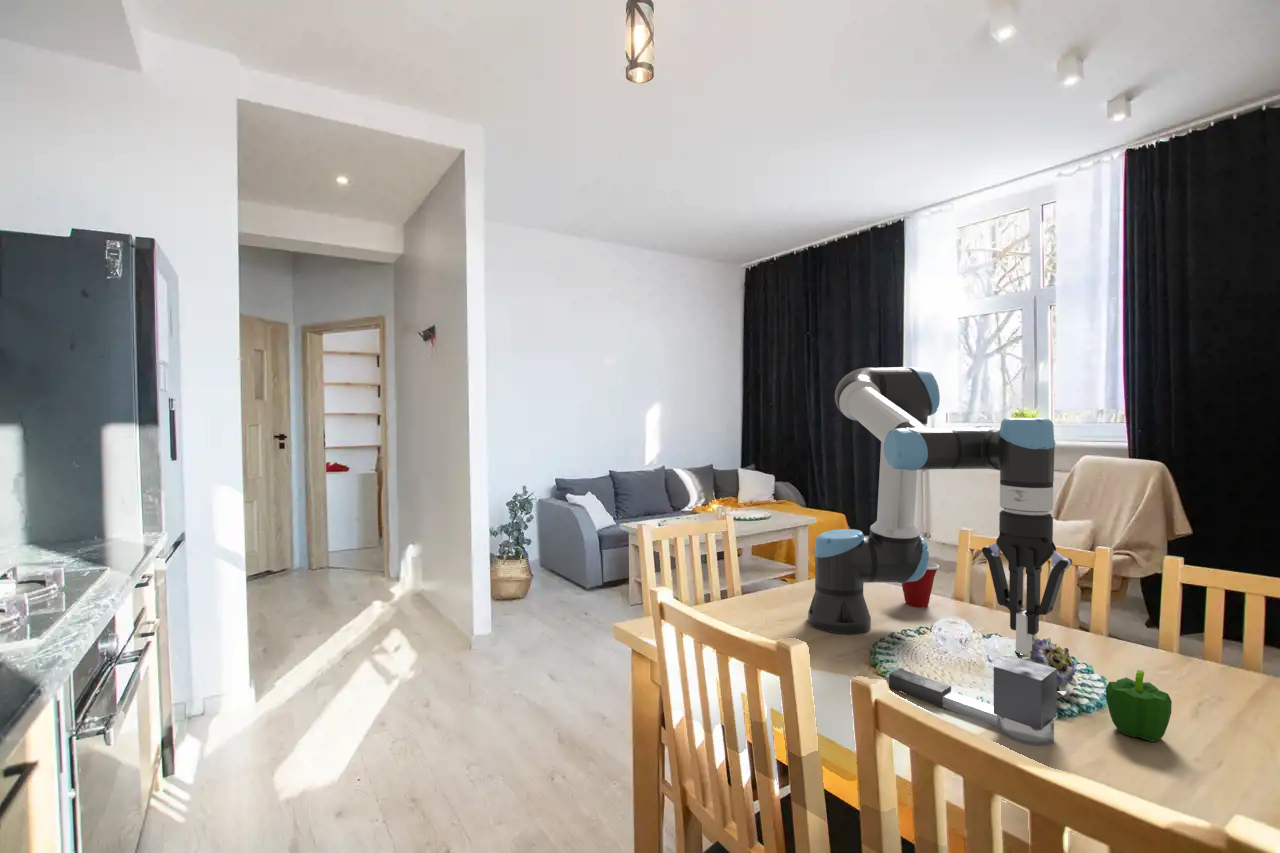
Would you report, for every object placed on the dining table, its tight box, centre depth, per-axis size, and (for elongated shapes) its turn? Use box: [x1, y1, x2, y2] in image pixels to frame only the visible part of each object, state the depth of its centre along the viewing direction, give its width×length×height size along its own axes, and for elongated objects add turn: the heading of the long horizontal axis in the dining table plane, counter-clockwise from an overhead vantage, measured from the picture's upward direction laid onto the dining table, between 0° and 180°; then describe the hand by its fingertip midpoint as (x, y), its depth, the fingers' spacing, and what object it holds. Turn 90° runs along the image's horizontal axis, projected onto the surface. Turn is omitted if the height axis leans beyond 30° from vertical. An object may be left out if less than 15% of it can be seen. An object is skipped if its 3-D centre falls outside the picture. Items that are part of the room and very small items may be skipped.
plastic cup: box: [901, 561, 940, 608], centre depth 169 cm, size 11×11×12 cm
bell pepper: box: [1105, 669, 1173, 742], centre depth 101 cm, size 8×8×10 cm
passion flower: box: [1014, 634, 1079, 691], centre depth 119 cm, size 11×11×12 cm
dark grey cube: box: [993, 655, 1058, 730], centre depth 102 cm, size 7×7×8 cm
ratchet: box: [884, 668, 1055, 747], centre depth 110 cm, size 28×8×7 cm, turn 38°
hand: (1023, 651), depth 102 cm, fingers closed
